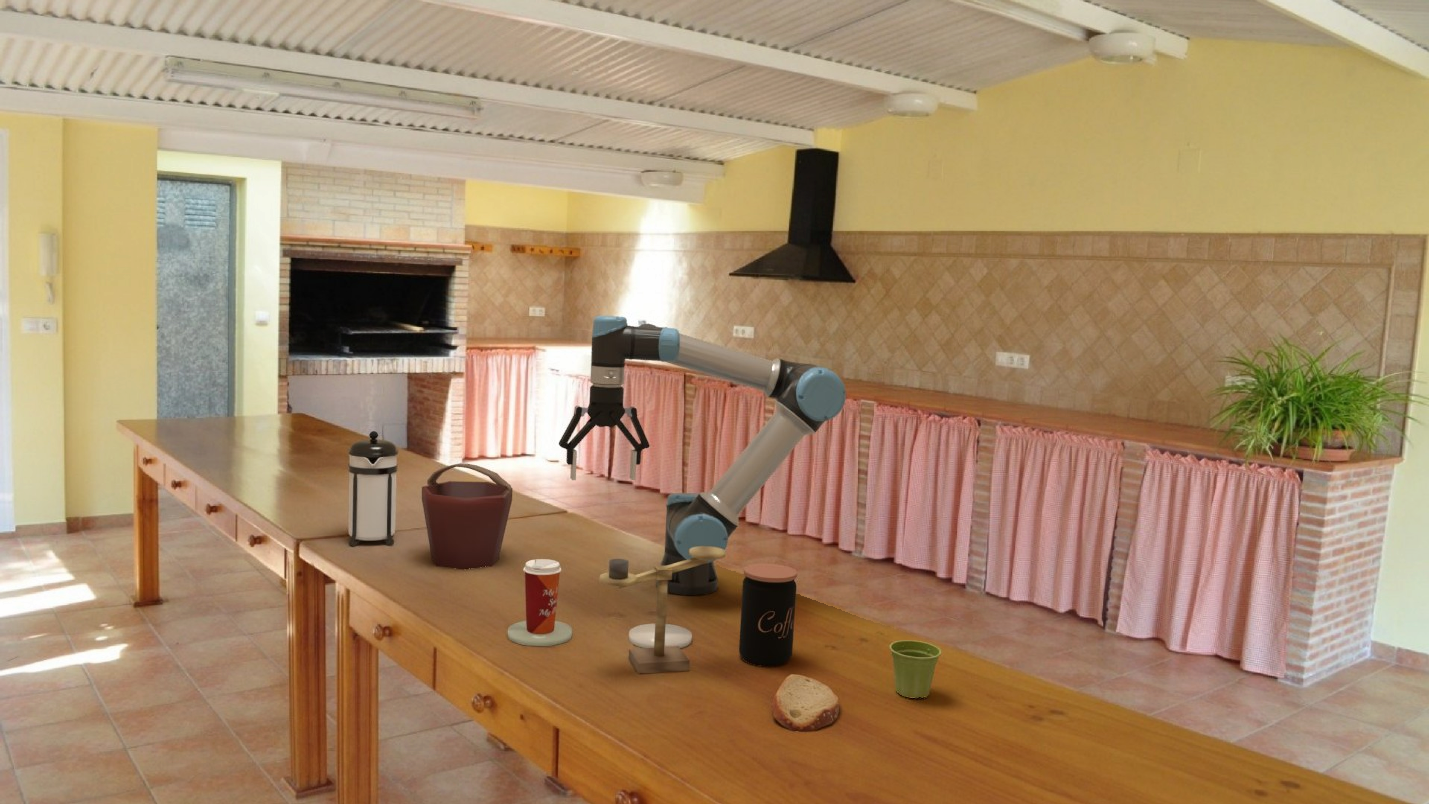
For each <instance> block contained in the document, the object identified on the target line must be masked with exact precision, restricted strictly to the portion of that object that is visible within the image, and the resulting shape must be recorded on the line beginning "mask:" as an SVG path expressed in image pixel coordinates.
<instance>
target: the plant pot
mask: <svg viewBox="0 0 1429 804" xmlns="http://www.w3.org/2000/svg"><path fill="white" fill-rule="evenodd" d="M889 650H890V652H891V658H892V659H893V673H894V686H895V687H894V688H895V692H896V691H897V692H896V693H897V694H898V693H899V694H901V695H903V696H908V697H915V699H920V698H919V697H924V696H928V695H929V696H930V691H931V688H932V682H933V678H934V677H933V676H934V673H935V669H936V666H937V665H936V664H937V663H938V661H939V657H941V655H942V650H941V648H940V647H938V646H936V645H935V644H932V643H929V642H925V641H920V640H913V639H910V640H909V639H907V640H906V639H904V640H897V641H893V642H892V643H890V645H889ZM899 694H898V695H899ZM929 696H928V697H929Z"/></svg>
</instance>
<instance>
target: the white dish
mask: <svg viewBox="0 0 1429 804" xmlns="http://www.w3.org/2000/svg"><path fill="white" fill-rule="evenodd" d="M692 638H693V634H692V632H691V631H690V630H689V629H687V628H685V627H683V626H680V625H675V624H672V623H671V624H669V623H666V627H665V646H664V647H672V646H679V648H680V649H683V648H686V647H687V646H689V645H690V644H692ZM654 639H655V623H645V624H640V625H636V626H634V627H632V628H631V629H630V630H629V631H628V641H629V642H630V643H631V644H632V645H634V646H636V647H638V648H654Z"/></svg>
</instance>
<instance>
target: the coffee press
mask: <svg viewBox="0 0 1429 804" xmlns="http://www.w3.org/2000/svg"><path fill="white" fill-rule="evenodd" d="M368 436H369V439H362V440H361V439H360V440H358V441H357V440H356V441H355V442H354V443H352V444H351V445H350V447H349V449H348V451H347V454H348V457H349V459H348V460H349V463H348V468H347V469H348V474H349V475H348V478H349V479H348V528H347V529H348V535H349V536H350V538H349V541H348V545H349V546H351V547H356V546H357V544H358V543H359V542H361V541H383V542H384V543H385V544H386V546H392V545H394V544H395V540H394V538H393V537H394V535H395V533H396V507H397V504H396V503H397V472H398V463H397V462H398V461H397V460H398V459H397V458H398V455H399V449H397V448H398V447H397V446H396V444H395V443H393V442H392V441H389V440H386V439H385V440H384V439H378V437H379V433H378V432H377V431H373V430H372V431H370V433H369V434H368Z"/></svg>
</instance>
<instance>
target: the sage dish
mask: <svg viewBox="0 0 1429 804" xmlns="http://www.w3.org/2000/svg"><path fill="white" fill-rule="evenodd" d="M572 634H573V629H572V627H571V626H570V625H569V624H567V623H564V622H561V621H559V620H555V626H554V631H553V632H551V633H548V634H533V633H530V632H528V631H527V626H526V620H523V621H519V622H516V623H513V624H511V625H510V626H509V627H508V629H507V638H508V639H509V641H511V642H513V643H516V644H519V645H522V646H528V647H550V646H552V647H553V646H557V644H558V645H561V644H564V643H566V642H568V641H570V640H571V638H572Z"/></svg>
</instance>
